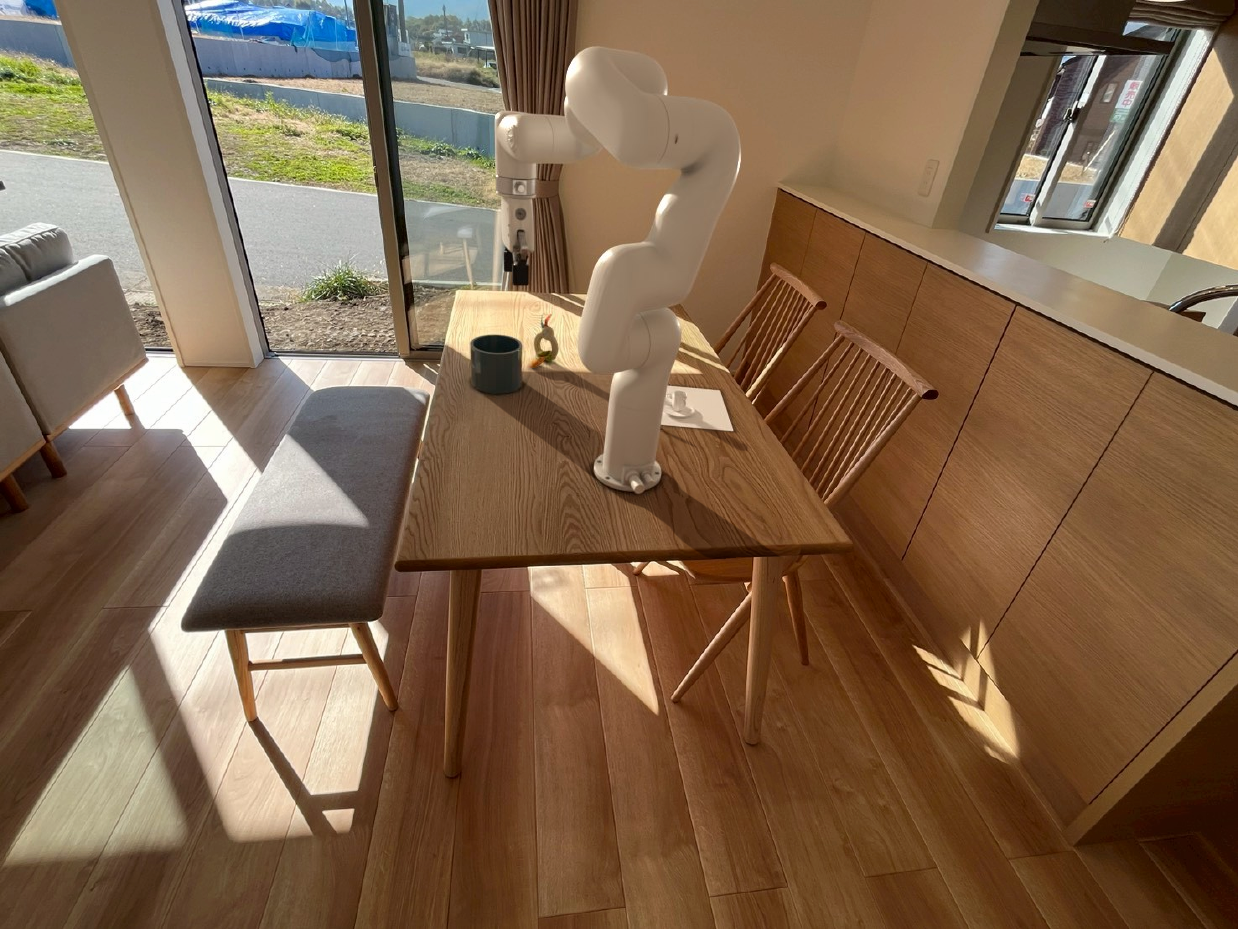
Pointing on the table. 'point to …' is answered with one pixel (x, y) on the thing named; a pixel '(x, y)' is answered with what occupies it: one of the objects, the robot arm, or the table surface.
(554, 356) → the rattle
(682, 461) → the table surface
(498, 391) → the cup
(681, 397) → the teacup and saucer
